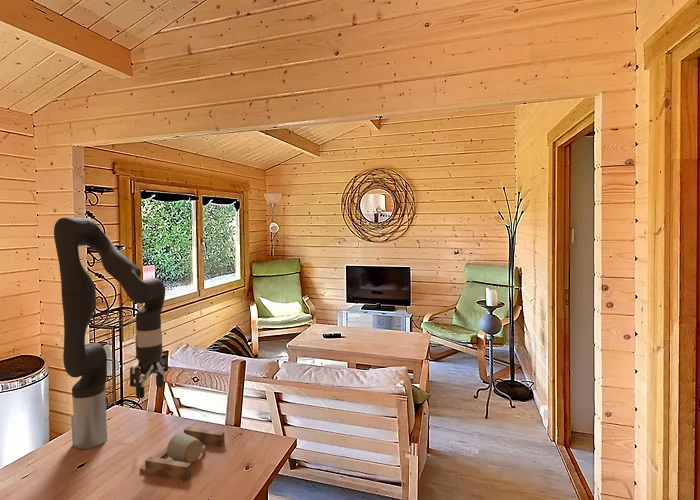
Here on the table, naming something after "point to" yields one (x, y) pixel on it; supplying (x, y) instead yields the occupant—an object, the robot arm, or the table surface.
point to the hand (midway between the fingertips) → (150, 392)
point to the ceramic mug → (184, 448)
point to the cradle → (177, 468)
